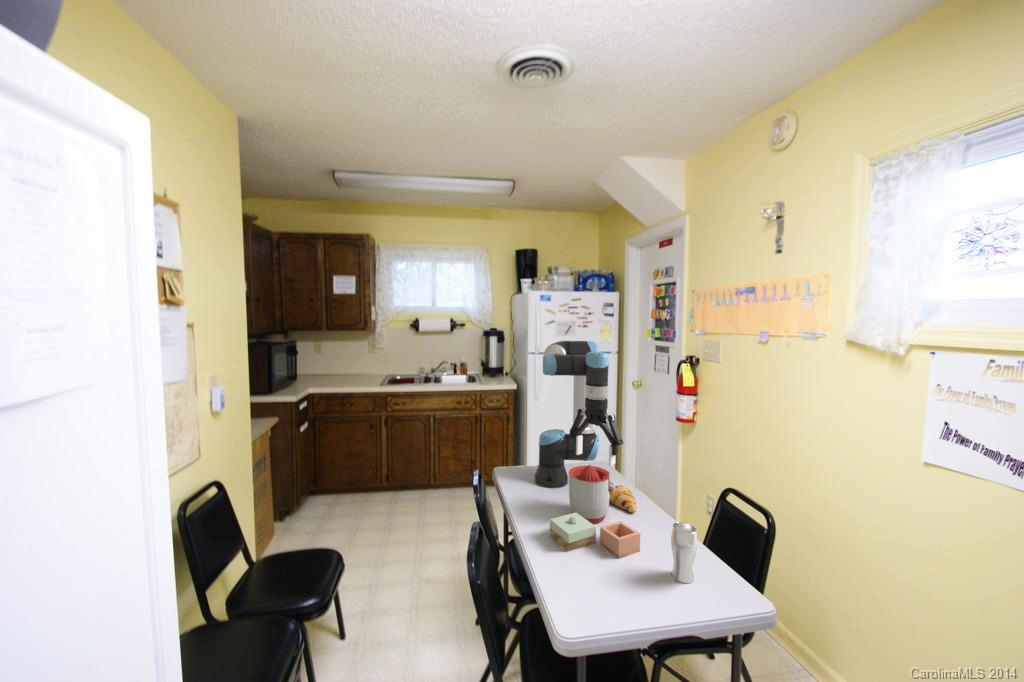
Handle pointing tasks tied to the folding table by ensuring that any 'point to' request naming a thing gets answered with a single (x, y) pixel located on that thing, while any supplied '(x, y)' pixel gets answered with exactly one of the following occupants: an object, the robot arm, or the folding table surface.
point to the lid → (572, 527)
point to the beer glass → (683, 551)
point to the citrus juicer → (589, 492)
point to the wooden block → (572, 545)
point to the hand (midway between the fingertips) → (595, 459)
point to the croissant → (623, 498)
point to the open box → (620, 539)
